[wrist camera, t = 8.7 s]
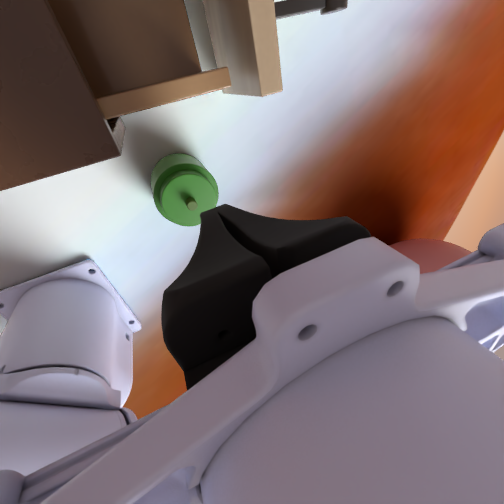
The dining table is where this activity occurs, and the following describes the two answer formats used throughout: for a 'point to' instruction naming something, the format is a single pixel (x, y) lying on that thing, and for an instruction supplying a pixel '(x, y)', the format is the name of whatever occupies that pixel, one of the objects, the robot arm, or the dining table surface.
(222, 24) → the drawer
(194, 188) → the green lidded jar
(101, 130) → the cabinet
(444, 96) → the dining table surface
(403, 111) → the dining table surface
